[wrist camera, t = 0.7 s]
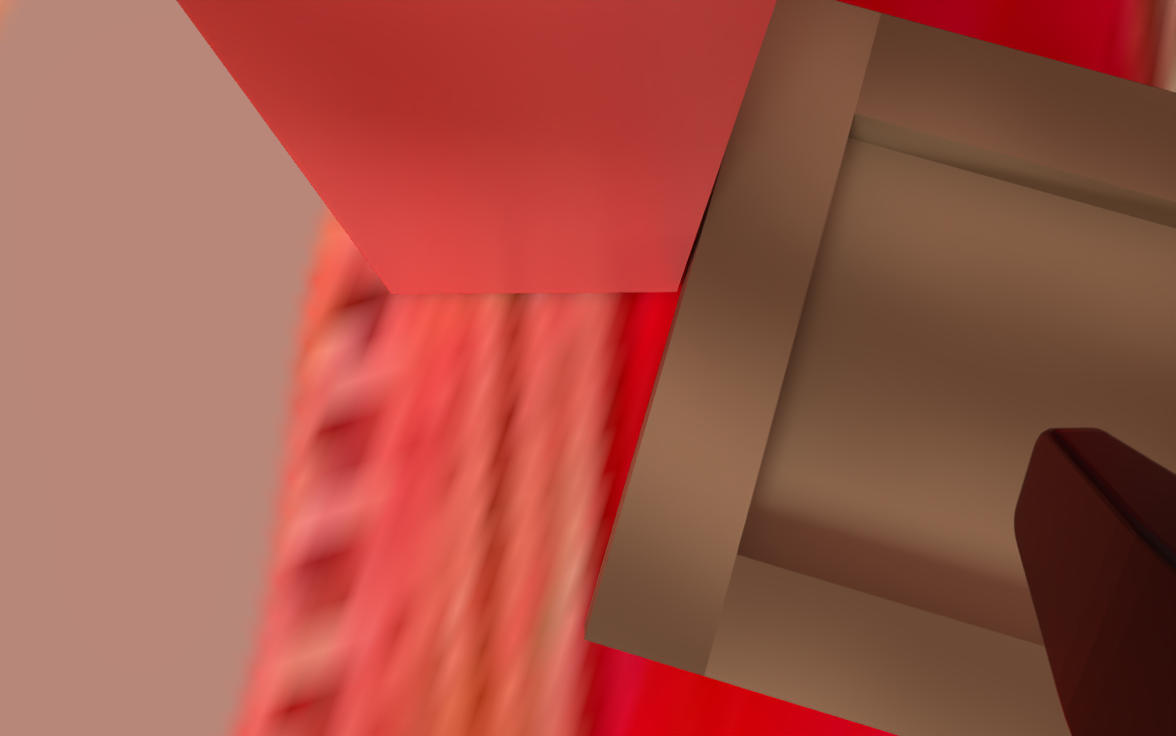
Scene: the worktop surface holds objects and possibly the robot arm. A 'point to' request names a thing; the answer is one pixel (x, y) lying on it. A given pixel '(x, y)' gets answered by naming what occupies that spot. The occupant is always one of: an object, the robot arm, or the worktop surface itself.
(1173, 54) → the worktop surface
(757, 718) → the worktop surface
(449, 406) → the worktop surface
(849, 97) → the walnut base
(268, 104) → the red brick
